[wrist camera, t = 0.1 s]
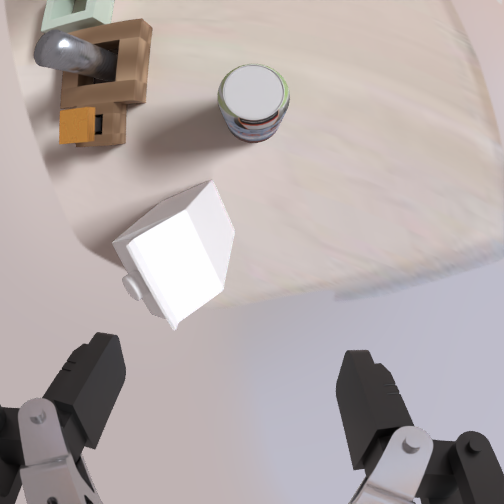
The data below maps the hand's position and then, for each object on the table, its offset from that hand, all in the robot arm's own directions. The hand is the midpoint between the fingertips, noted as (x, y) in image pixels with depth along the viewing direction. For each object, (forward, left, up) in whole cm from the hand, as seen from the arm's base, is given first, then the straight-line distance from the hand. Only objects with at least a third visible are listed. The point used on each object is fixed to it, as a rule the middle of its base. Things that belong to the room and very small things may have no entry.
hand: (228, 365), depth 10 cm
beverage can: (-10, 0, -29) cm, 31 cm away
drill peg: (-16, -18, -29) cm, 38 cm away
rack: (-26, -23, -29) cm, 45 cm away
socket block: (-13, -18, -29) cm, 37 cm away
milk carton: (+3, -6, -29) cm, 30 cm away
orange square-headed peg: (-8, -18, -26) cm, 33 cm away
